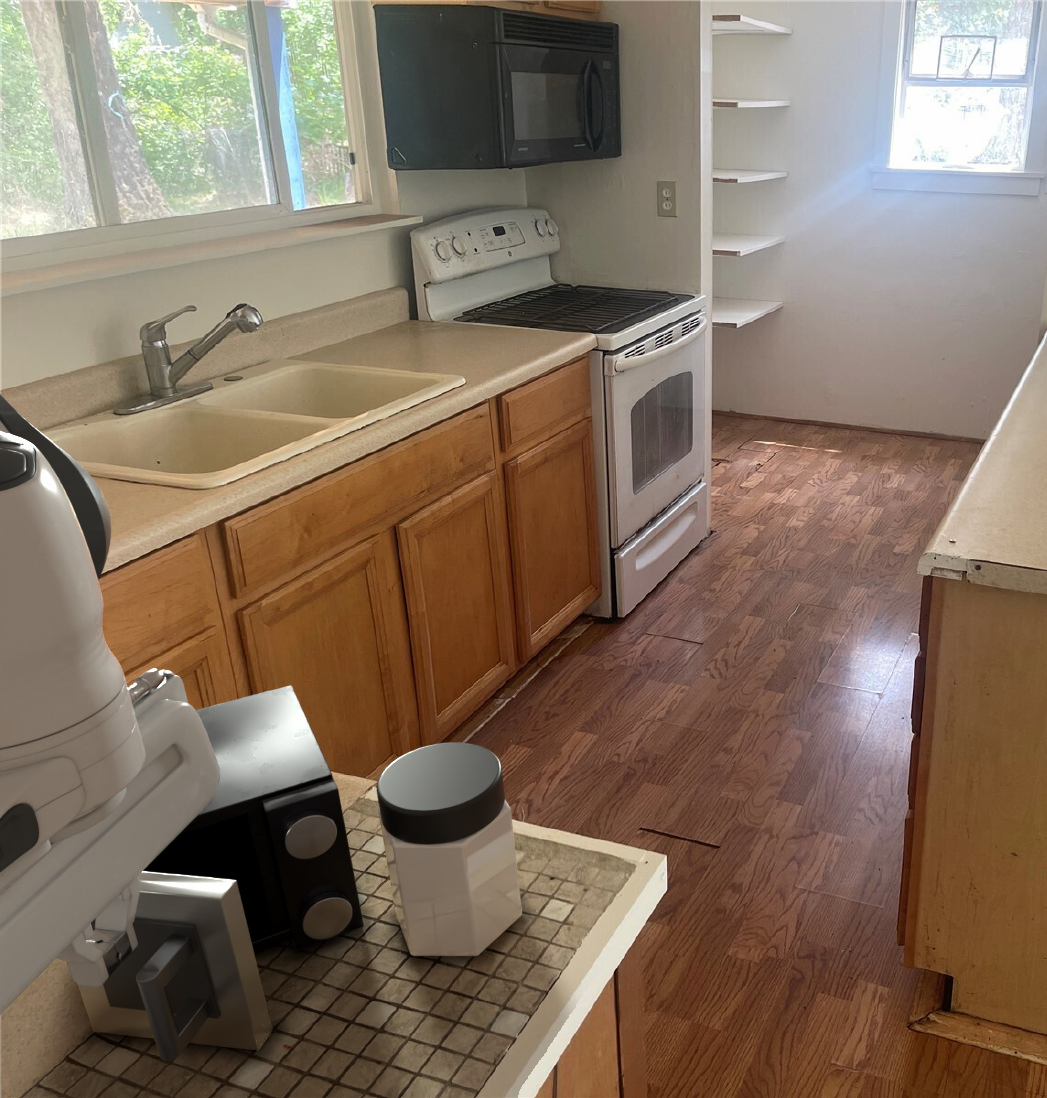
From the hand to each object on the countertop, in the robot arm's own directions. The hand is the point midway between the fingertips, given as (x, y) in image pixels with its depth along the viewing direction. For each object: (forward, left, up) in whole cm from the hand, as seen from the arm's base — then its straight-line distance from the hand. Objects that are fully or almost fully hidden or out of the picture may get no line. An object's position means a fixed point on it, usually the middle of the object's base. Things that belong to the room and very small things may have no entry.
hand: (107, 966), depth 56 cm
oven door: (+1, +2, -9) cm, 9 cm away
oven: (+6, +14, -9) cm, 18 cm away
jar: (+20, +4, -10) cm, 23 cm away
